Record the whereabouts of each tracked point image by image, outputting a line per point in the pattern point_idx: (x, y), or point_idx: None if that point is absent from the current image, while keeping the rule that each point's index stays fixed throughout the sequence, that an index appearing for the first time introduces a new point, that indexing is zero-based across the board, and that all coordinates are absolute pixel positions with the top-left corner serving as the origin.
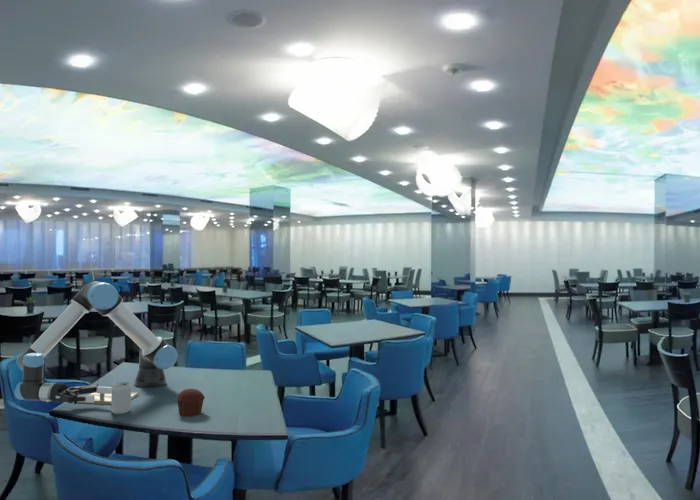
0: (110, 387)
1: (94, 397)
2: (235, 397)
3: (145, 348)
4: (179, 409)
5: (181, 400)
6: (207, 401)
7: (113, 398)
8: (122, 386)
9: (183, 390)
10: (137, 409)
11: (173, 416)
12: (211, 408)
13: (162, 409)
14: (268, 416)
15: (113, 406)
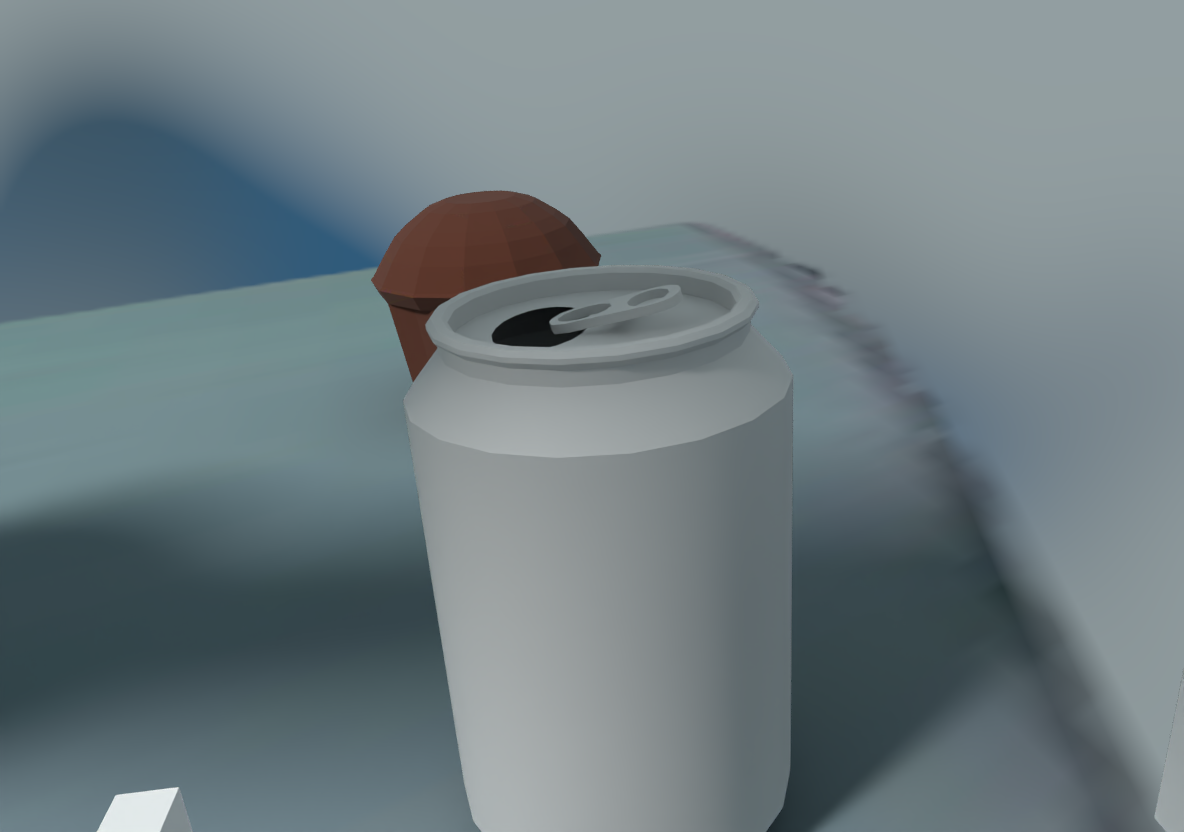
0: (142, 823)
1: (1178, 708)
2: (51, 375)
3: None
4: None
5: (593, 261)
6: (137, 422)
7: (787, 570)
8: (701, 295)
9: (491, 213)
10: (441, 680)
11: None
12: (352, 369)
13: (409, 519)
14: None
15: (789, 696)
